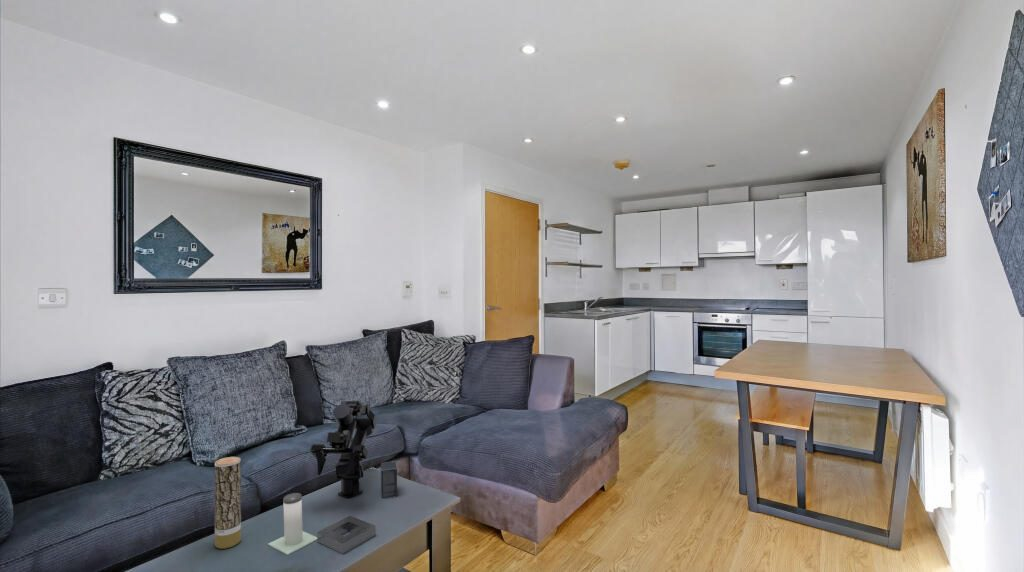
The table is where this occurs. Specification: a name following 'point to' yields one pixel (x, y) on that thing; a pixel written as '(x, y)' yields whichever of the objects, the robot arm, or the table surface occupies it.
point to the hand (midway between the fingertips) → (332, 475)
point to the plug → (293, 518)
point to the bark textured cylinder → (227, 502)
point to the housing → (342, 544)
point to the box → (388, 479)
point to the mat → (289, 549)
